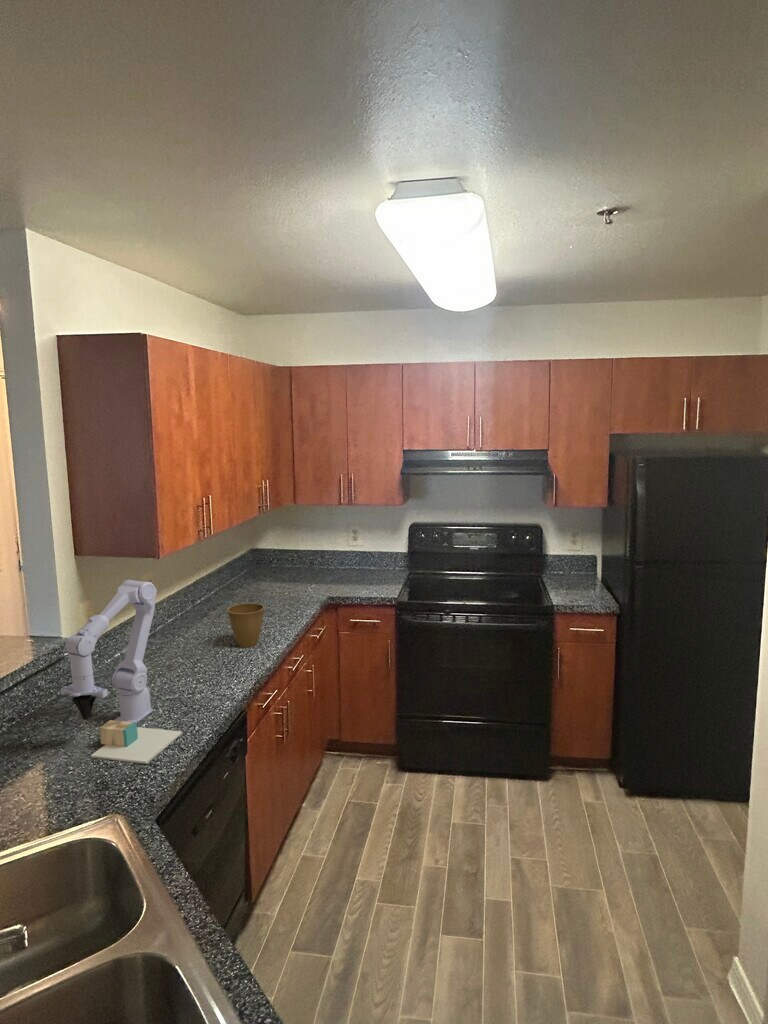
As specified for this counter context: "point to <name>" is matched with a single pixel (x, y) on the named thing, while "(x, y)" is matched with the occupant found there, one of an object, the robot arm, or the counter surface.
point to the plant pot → (246, 623)
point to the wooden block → (118, 733)
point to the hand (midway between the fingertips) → (87, 718)
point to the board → (139, 746)
